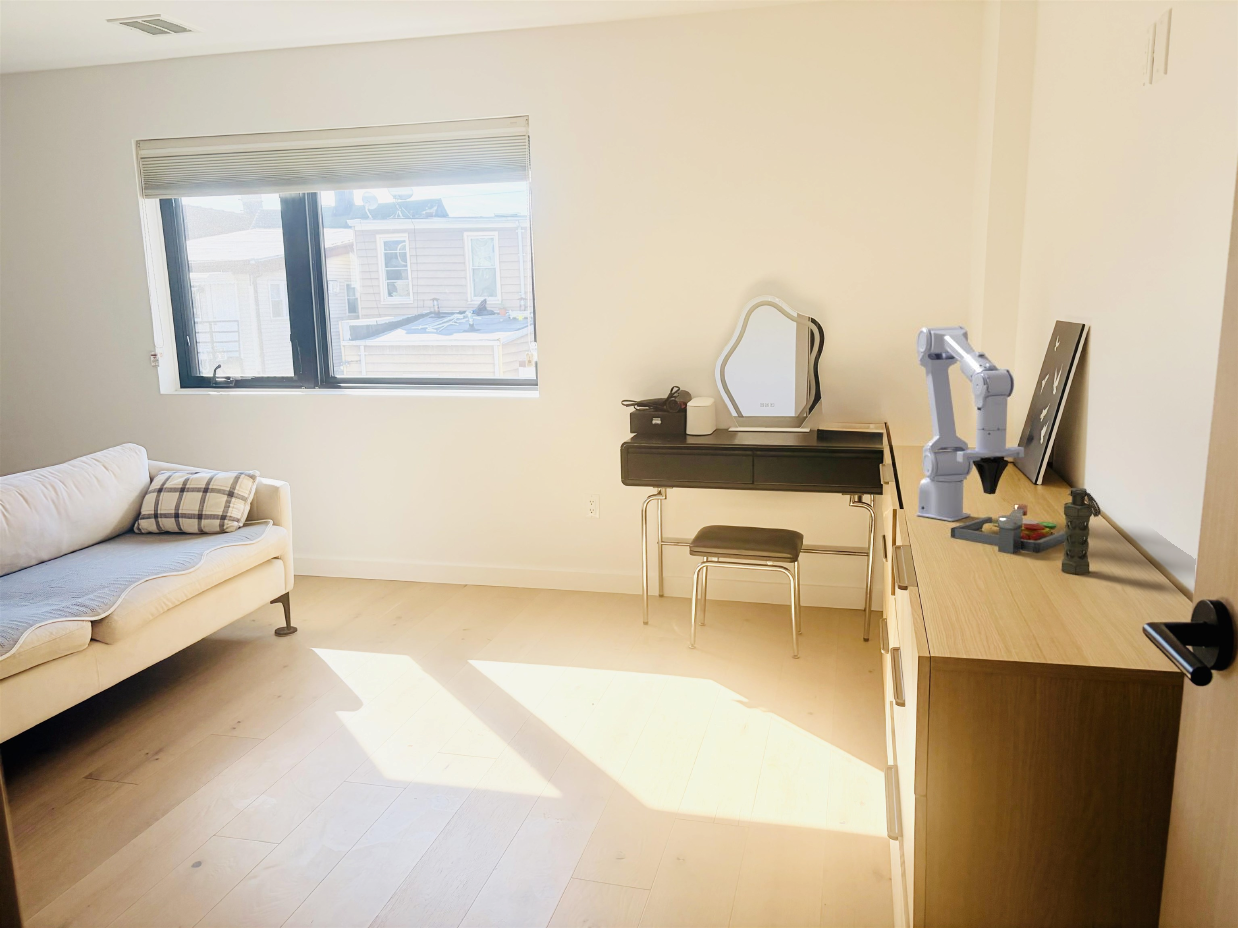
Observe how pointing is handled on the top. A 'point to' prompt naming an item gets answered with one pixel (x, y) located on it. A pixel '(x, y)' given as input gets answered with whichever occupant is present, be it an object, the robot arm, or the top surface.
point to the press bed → (1004, 538)
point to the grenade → (1078, 531)
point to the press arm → (1013, 517)
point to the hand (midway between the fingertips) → (989, 493)
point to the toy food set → (1026, 529)
